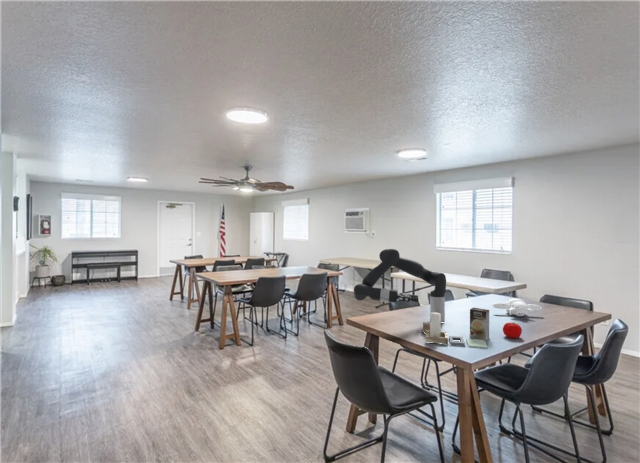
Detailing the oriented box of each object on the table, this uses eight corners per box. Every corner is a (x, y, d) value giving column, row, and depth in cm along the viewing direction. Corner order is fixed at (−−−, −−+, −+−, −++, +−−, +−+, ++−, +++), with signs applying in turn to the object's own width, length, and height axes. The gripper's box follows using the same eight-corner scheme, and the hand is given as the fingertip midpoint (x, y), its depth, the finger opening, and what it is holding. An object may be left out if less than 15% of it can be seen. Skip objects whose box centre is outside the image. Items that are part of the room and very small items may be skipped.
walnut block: (423, 332, 209) (423, 322, 209) (430, 332, 209) (430, 322, 209) (425, 334, 205) (424, 324, 205) (432, 334, 204) (432, 324, 204)
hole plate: (449, 338, 196) (449, 335, 196) (462, 339, 194) (462, 336, 194) (450, 345, 184) (450, 342, 184) (464, 346, 182) (464, 343, 182)
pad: (466, 340, 193) (466, 338, 193) (484, 341, 190) (484, 340, 190) (468, 346, 182) (468, 345, 182) (487, 348, 179) (487, 346, 179)
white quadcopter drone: (490, 313, 255) (490, 298, 255) (511, 308, 271) (511, 294, 271) (525, 321, 234) (526, 304, 234) (546, 315, 251) (546, 300, 251)
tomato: (500, 337, 197) (500, 322, 198) (506, 333, 205) (506, 319, 205) (518, 341, 191) (518, 325, 191) (524, 337, 198) (524, 322, 198)
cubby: (426, 336, 200) (426, 330, 200) (446, 338, 196) (446, 332, 196) (425, 343, 188) (425, 336, 188) (447, 345, 184) (447, 338, 184)
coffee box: (469, 337, 198) (469, 309, 198) (473, 334, 203) (472, 307, 203) (486, 340, 192) (486, 311, 192) (489, 337, 197) (489, 309, 197)
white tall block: (430, 338, 196) (429, 312, 196) (440, 339, 194) (440, 312, 194) (430, 341, 190) (429, 314, 191) (440, 342, 189) (440, 314, 189)
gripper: (388, 290, 192) (419, 293, 188) (389, 287, 206) (418, 290, 202) (387, 304, 192) (418, 307, 188) (388, 300, 205) (417, 303, 201)
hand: (418, 298), depth 195 cm, fingers open, 8 cm apart
